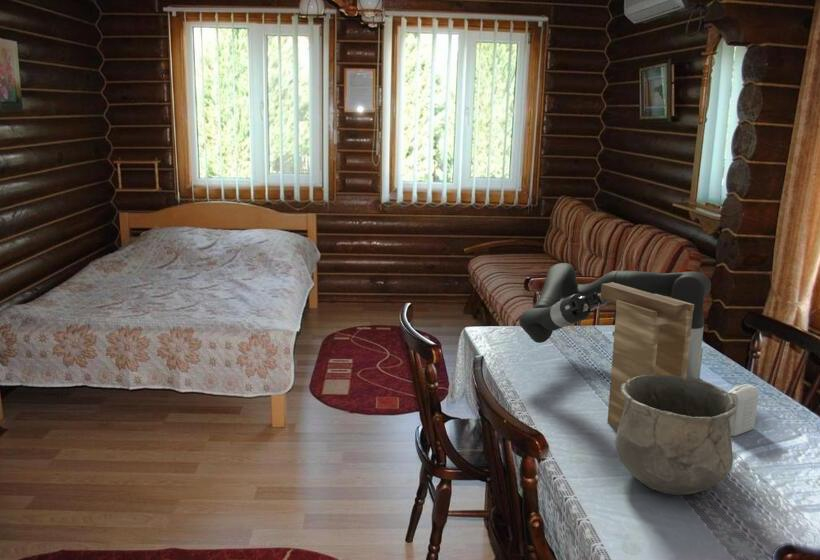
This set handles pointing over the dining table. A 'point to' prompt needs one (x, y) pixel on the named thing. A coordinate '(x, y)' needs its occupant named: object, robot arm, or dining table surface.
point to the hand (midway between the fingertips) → (608, 294)
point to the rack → (645, 349)
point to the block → (645, 301)
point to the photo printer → (744, 408)
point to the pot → (675, 433)
